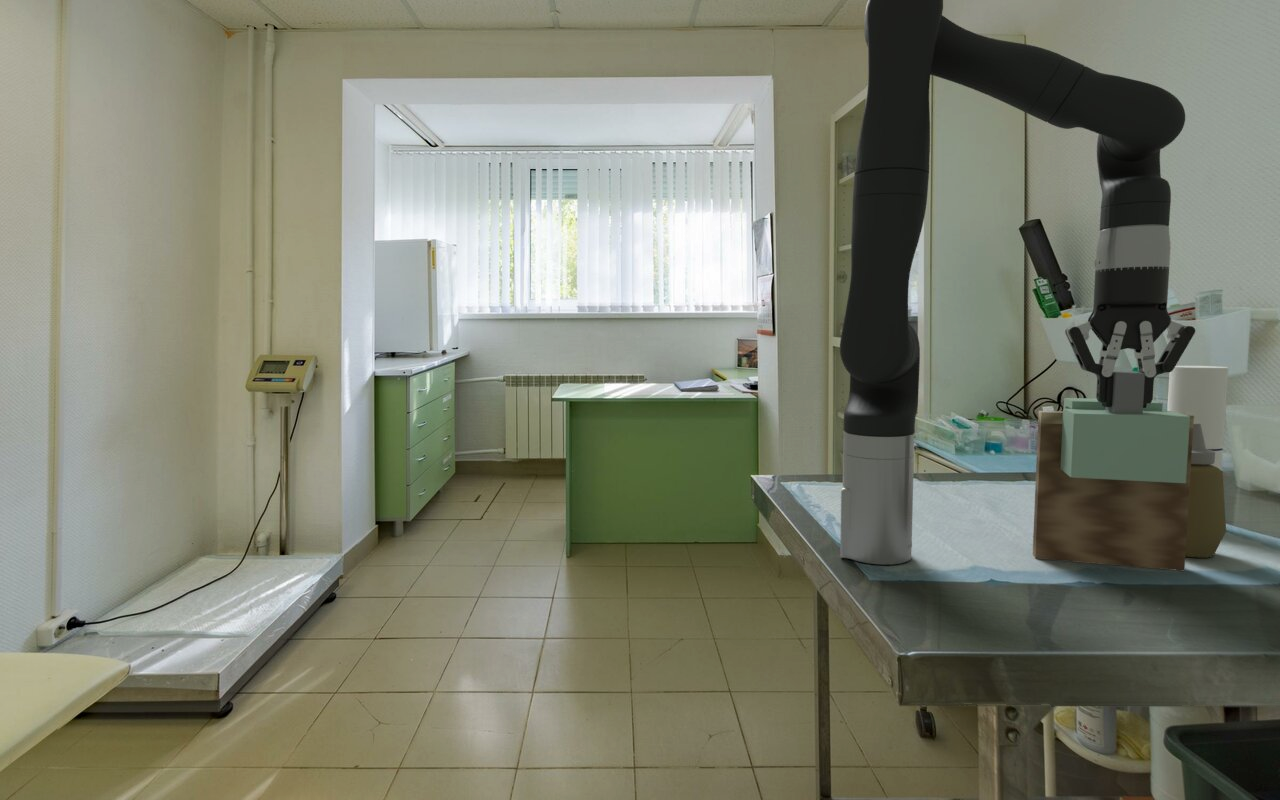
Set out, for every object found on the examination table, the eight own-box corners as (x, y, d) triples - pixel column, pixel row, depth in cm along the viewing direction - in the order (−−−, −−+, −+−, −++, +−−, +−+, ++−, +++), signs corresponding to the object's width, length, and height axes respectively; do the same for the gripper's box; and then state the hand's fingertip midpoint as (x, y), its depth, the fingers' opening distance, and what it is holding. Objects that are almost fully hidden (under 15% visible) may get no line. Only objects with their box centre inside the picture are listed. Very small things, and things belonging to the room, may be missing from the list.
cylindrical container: (1228, 533, 109) (1239, 368, 107) (1175, 531, 110) (1184, 368, 108) (1201, 521, 116) (1211, 365, 114) (1152, 519, 117) (1160, 365, 115)
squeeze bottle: (1220, 549, 101) (1228, 422, 100) (1228, 565, 94) (1238, 429, 93) (1150, 541, 106) (1157, 418, 104) (1153, 555, 99) (1160, 425, 97)
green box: (1070, 477, 90) (1075, 373, 89) (1053, 462, 100) (1057, 368, 99) (1185, 483, 86) (1192, 374, 85) (1155, 467, 96) (1161, 369, 95)
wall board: (1035, 558, 98) (1041, 412, 96) (1026, 544, 105) (1031, 406, 103) (1184, 570, 93) (1193, 415, 91) (1165, 554, 99) (1173, 410, 97)
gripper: (1073, 266, 87) (1066, 408, 89) (1213, 261, 82) (1203, 412, 84) (1059, 271, 94) (1053, 402, 96) (1188, 267, 89) (1179, 405, 91)
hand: (1123, 406), depth 90 cm, fingers closed on green box, 3 cm apart
